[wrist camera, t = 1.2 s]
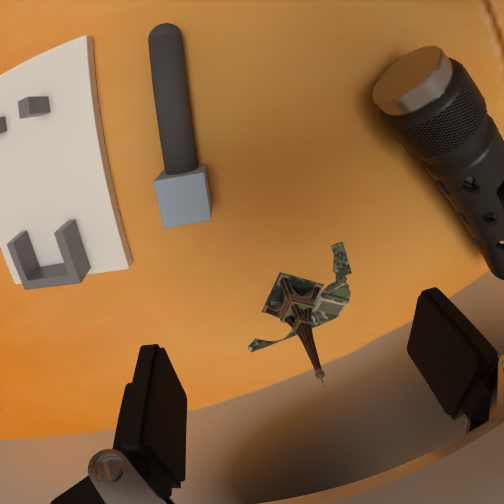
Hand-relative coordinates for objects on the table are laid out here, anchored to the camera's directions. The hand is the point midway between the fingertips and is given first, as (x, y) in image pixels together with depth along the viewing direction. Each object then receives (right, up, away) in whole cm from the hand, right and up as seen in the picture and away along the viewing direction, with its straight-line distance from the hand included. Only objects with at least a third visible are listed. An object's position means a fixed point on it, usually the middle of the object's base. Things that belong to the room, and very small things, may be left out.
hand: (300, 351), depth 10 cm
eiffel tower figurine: (+3, -2, +24) cm, 25 cm away
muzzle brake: (+21, +13, +19) cm, 31 cm away
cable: (-8, +15, +14) cm, 22 cm away
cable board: (-23, +12, +14) cm, 29 cm away
